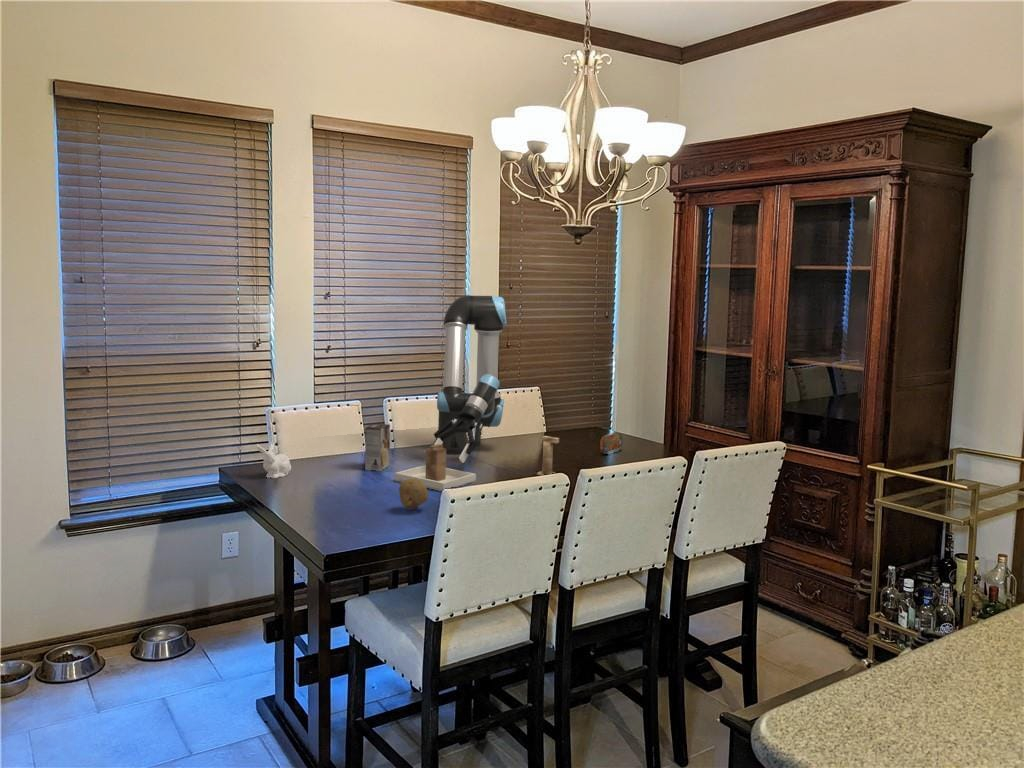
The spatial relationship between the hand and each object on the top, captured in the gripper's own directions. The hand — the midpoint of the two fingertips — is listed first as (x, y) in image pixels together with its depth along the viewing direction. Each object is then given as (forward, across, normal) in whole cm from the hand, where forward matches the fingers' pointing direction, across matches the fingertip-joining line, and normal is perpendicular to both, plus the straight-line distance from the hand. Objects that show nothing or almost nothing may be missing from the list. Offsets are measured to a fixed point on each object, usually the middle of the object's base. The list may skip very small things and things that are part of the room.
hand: (446, 457), depth 291 cm
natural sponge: (+31, -18, +21) cm, 41 cm away
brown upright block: (+9, 0, -1) cm, 9 cm away
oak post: (-15, -25, -26) cm, 39 cm away
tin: (-51, -23, -63) cm, 84 cm away
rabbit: (+33, +46, +22) cm, 61 cm away
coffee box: (+10, +29, -2) cm, 30 cm away
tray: (+10, 0, -1) cm, 10 cm away
